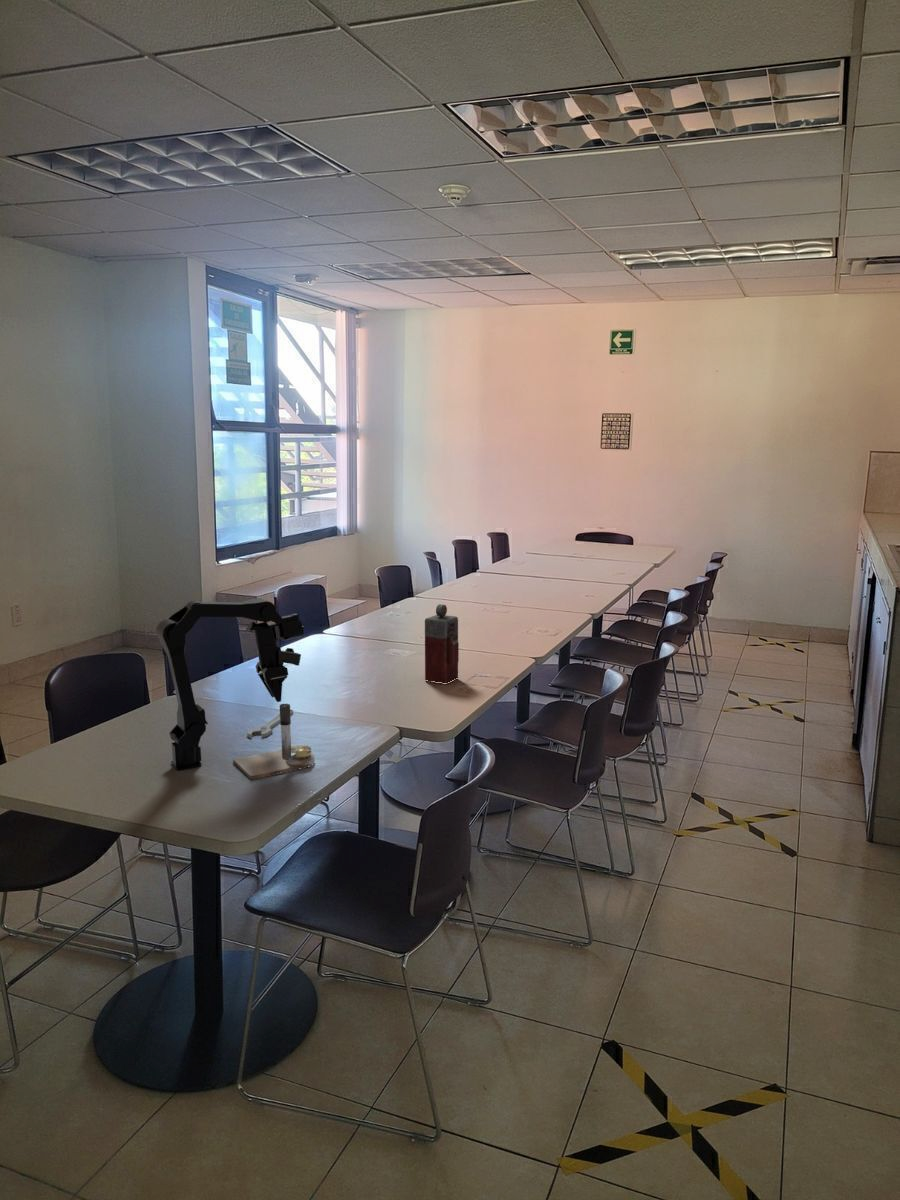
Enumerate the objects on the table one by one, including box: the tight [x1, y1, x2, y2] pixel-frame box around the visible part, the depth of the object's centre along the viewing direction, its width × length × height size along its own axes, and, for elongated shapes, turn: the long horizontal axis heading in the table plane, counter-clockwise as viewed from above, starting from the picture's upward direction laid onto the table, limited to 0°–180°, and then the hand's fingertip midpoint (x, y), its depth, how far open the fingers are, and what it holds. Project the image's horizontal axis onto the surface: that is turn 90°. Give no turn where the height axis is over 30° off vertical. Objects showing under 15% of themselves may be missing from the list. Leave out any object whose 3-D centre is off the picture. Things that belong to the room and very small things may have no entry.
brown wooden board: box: [232, 749, 316, 780], centre depth 228 cm, size 19×14×2 cm
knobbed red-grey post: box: [424, 603, 460, 683], centre depth 305 cm, size 9×11×28 cm
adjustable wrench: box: [246, 709, 294, 739], centre depth 259 cm, size 25×6×2 cm, turn 161°
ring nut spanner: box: [279, 703, 312, 760], centre depth 224 cm, size 10×6×16 cm, turn 156°
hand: (276, 699), depth 236 cm, fingers open, 9 cm apart
